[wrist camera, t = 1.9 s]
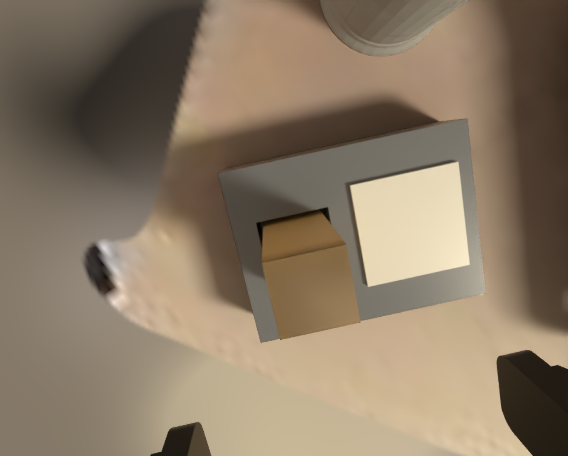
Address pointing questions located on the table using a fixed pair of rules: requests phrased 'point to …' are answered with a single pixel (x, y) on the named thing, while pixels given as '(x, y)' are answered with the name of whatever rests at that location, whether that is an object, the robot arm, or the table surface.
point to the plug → (307, 275)
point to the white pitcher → (384, 22)
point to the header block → (371, 216)
